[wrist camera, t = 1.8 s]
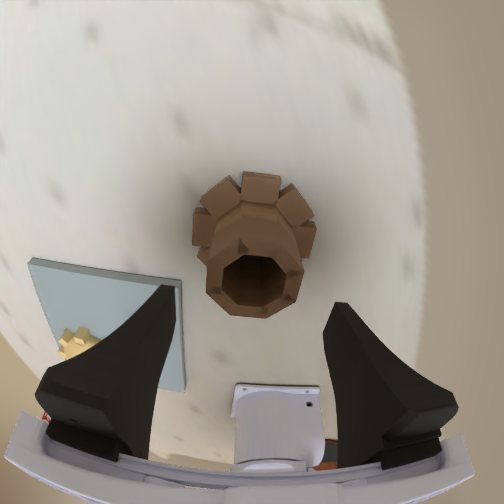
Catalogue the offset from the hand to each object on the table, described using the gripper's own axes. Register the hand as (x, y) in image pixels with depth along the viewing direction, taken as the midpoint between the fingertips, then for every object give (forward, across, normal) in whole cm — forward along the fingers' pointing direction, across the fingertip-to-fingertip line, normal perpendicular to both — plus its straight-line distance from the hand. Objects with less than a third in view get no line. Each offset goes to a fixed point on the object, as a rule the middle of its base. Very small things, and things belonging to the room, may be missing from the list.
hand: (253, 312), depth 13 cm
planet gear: (+8, 0, 0) cm, 8 cm away
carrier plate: (+8, +12, +13) cm, 20 cm away
